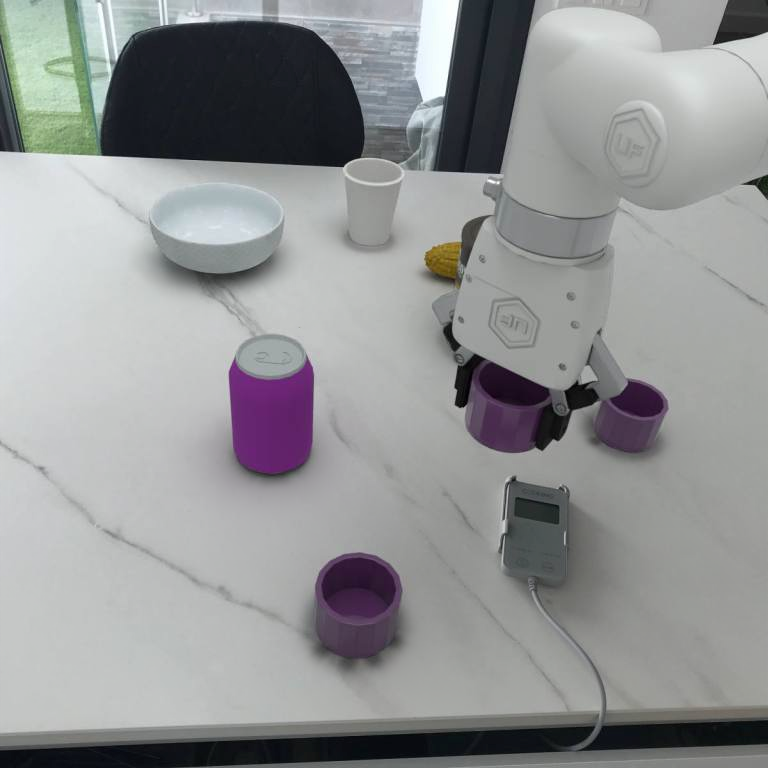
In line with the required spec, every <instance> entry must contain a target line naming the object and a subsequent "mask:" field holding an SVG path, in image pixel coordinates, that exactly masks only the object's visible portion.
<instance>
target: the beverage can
mask: <svg viewBox="0 0 768 768" xmlns="http://www.w3.org/2000/svg"><path fill="white" fill-rule="evenodd" d="M228 387H229V388H228V389H229V402H230V417H231V419H230V420H231V433H232V449H233V453H234V454H235V456H236V458H237V460H238V461H239V462H240V463H241V464H242V465H243V466H245V467H246V468H247V469H249V470H252V471H255V472H258V473H262V474H263V473H264V474H269V475H272V474H281V473H285V472H288V471H291V470H294V469H296V468H297V467H299V466H300V465H303V463H304V462H305V461H306V460H307V459H308V458H309V456H310V454H311V450H312V447H313V442H314V441H313V440H314V439H313V437H314V399H315V398H314V397H315V371H314V366H313V365H312V362H311V361H310V359H309V356H308V354H307V352H306V348H305V347H304V345H302V343H301V342H300V341H298V340H297V339H295V338H294V337H291V336H288V335H285V334H280V333H262V334H258V335H253V336H252V337H249V338H248V339H245V340H244V341H243V342H242V343H240V344H239V345H238V347H237V348H236V352H235V355H234V358H233V359H232V362H231V365H230V367H229V370H228Z"/></svg>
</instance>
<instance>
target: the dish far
mask: <svg viewBox="0 0 768 768" xmlns="http://www.w3.org/2000/svg"><path fill="white" fill-rule="evenodd" d="M626 379H627V381H628V385H627V386H626V387H625V389H624V390H623V391H622V392H621V393H620V394H619V395H618V396H615V397H612V398H609V399H606V400H603V401H598V402H597V406H596V409H595V412H594V416H593V420H592V428H593V431H594V433H595V434H596V436H597V438H599V440H601V441H602V442H603V443H605V444H606V445H608V446H609V447H612V448H613V449H616V450H618V451H622V452H627V453H639V452H641V453H642V452H644V451H647V450H648V449H650V448H652V447H653V446H654V444H655V442H656V440H657V438H658V436H659V433H660V431H661V429H662V427H663V424H664V422H665V419H666V417H667V414H668V412H669V409H670V408H669V401H668V399H667V397H666V396H665V395H664V393H663V392H662V391H661V390H659V389H658V388H656V386H654V385H652V384H650V383H649V382H648V383H647V382H645V381H643V380H640V379H634V378H630V377H626Z"/></svg>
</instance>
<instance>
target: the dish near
mask: <svg viewBox="0 0 768 768" xmlns="http://www.w3.org/2000/svg"><path fill="white" fill-rule="evenodd" d="M402 596H403V586H402V582H401V577H400V575H399V574H398V572H397V571H396V570H395V568H394V567H393V566H392V565H391V563H390V562H388V561H387V560H384V559H383V558H381V557H379V556H378V555H375V554H371V553H366V552H362V551H360V552H348V553H347V552H346V553H342V554H341V555H339V556H336V557H334V558H332V559H330V560H329V561H328V562H327V563H326V564H325V565H324V566H323V567H322V568H321V569H320V570H319V572H318V575H317V578H316V581H315V584H314V601H313V602H314V604H313V606H314V607H313V617H314V618H313V619H314V621H313V622H314V629H315V632H316V635H317V637H318V639H319V640H320V641H321V643H322V644H323V645H324V646H325V647H326V648H327V649H329V650H330V651H331V652H333V653H334V654H337V655H339V656H341V657H345V658H348V659H349V658H350V659H363V658H369V657H371V656H374V655H376V654H379V653H380V652H382V651H383V650H385V648H387V647H388V646H389V644H390V643H391V642H392V641H393V639H394V637H395V635H396V632H397V627H398V622H399V616H400V611H401V603H402V598H403V597H402Z"/></svg>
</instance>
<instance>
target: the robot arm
mask: <svg viewBox="0 0 768 768" xmlns="http://www.w3.org/2000/svg"><path fill="white" fill-rule="evenodd" d="M662 46H663V45H662V40H661V37H660V35H659V32H657V30H656V29H655V27H653V25H652V24H650V23H648V22H646V21H644V20H643V19H641V18H639V17H637V16H635V15H632V14H628V13H626V12H621V11H618V10H613V9H606V8H599V7H598V8H597V7H589V6H570V7H563V8H558V9H553V10H551V11H549V12H547V13H545V14H543V15H542V16H541V17H540V19H538V20H537V21H536V23H535V24H534V26H533V28H532V30H531V32H530V34H529V38H528V43H527V46H526V50H525V56H524V63H523V68H522V73H521V79H520V83H519V90H518V95H517V101H516V105H515V111H514V118H513V123H512V129H511V133H510V139H509V145H508V149H507V153H506V154H507V155H506V160H505V167H504V172H503V177H500V178H497V177H494V176H488V177H487V179H486V180H485V182H484V184H483V187H482V194H483V195H484V196H485V197H488V198H490V199H491V201H493V202H494V203H495V205H494V211H493V214H492V215H493V216H490V217H488V218H487V219H485V220H484V222H483V224H482V226H481V228H480V231H479V233H478V235H477V238H476V241H475V243H474V246H473V249H472V251H471V254H470V257H469V260H468V263H467V266H466V269H465V273H464V276H463V279H462V283H461V287H460V289H457V290H455V291H454V290H452V291H449V292H447V293H445V294H443V295H441V296H439V297H438V298H437V299H435V300H433V302H432V303H431V309H432V311H433V313H434V315H435V316H436V318H437V320H438V322H439V324H440V326H442V327H443V328H442V333H443V335H444V337H445V339H446V341H447V340H448V341H447V343H448V342H449V343H448V345H449V344H450V345H449V347H450V346H451V347H452V348H451V347H450V348H451V349H452V351H453V353H452V360H453V362H454V363H455V364H456V365H457V368H456V373H455V379H454V384H453V385H454V387H453V388H454V390H456V394H455V399H454V406H455V407H456V408H459V409H464V408H465V407H467V402H468V397H469V391H470V386H471V381H472V376H473V370H474V369H475V368H476V367H477V366H478V365H479V364H480V363H481V362H482V361H484V360H486V359H487V360H490V361H492V362H494V363H496V364H498V365H500V366H502V367H504V368H506V369H508V370H510V371H512V372H514V373H516V374H518V375H521V376H523V377H525V378H527V379H529V380H531V381H533V382H535V383H537V384H540V385H542V386H544V387H547V388H549V393H550V397H551V402H552V403H551V404H550V405H549V406H548V407H547V408H546V409H545V411H544V413H543V417H542V420H541V424H540V427H539V431H538V435H537V438H536V442H535V446H536V448H535V449H537V450H539V451H541V452H544V450H545V449H546V448H547V447H548V446H549V445H550V444H551V443H552V442H553V441H556V442H560V441H561V440H562V438H563V437H564V436H565V434H566V432H567V430H568V426H569V423H570V420H571V418H572V414H573V411H576V410H581V409H584V408H588V407H592V406H593V405H594V404H595V403H599V401H603V400H606V399H609V398H612V397H615V396H618V395H619V394H620V393H621V392H622V391H623V390H624V389H625V387H626V386H627V385H628V381H627V379H626V378H627V377H626V376H625V374H624V372H623V371H622V369H621V368H620V366H619V364H618V362H617V361H616V359H615V357H614V356H613V355H612V353H611V352H610V350H609V348H608V347H607V344H605V342H604V340H603V335H604V331H605V326H606V322H607V317H608V313H609V308H610V303H611V297H612V289H613V281H614V270H615V269H614V268H615V246H613V245H612V244H610V243H609V240H610V236H611V232H612V229H613V226H614V222H615V220H616V216H617V212H618V209H619V205H620V202H621V198H622V199H624V200H625V201H626V202H629V203H630V204H633V205H634V206H637V207H640V208H643V209H647V210H651V211H673V210H677V209H681V208H685V207H688V206H691V205H694V204H696V203H699V202H701V201H704V200H707V199H709V198H711V197H714V196H716V195H719V194H721V193H724V192H726V191H729V190H731V189H733V188H735V187H738V186H740V185H743V184H747V183H748V182H751V181H753V180H756V179H759V178H761V177H765V176H767V175H768V31H767V32H764V33H761V34H758V35H755V36H752V37H749V38H748V37H747V38H741V39H736V40H731V41H727V42H722V43H717V44H713V45H707V46H702V47H698V48H696V49H686V50H685V49H684V50H675V51H664V52H663V47H662ZM587 366H589V368H590V369H591V370H592V372H593V374H594V375H595V377H596V379H597V380H591V381H588V382H584V383H583V380H582V376H581V375H582V373H583V370H584V369H585V367H587Z"/></svg>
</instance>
